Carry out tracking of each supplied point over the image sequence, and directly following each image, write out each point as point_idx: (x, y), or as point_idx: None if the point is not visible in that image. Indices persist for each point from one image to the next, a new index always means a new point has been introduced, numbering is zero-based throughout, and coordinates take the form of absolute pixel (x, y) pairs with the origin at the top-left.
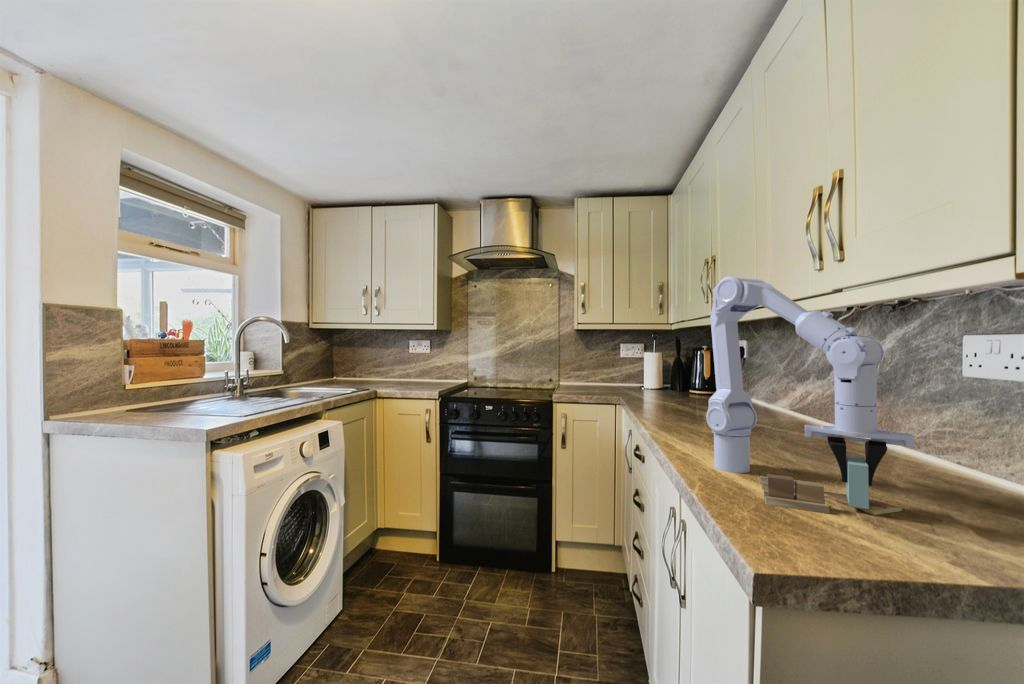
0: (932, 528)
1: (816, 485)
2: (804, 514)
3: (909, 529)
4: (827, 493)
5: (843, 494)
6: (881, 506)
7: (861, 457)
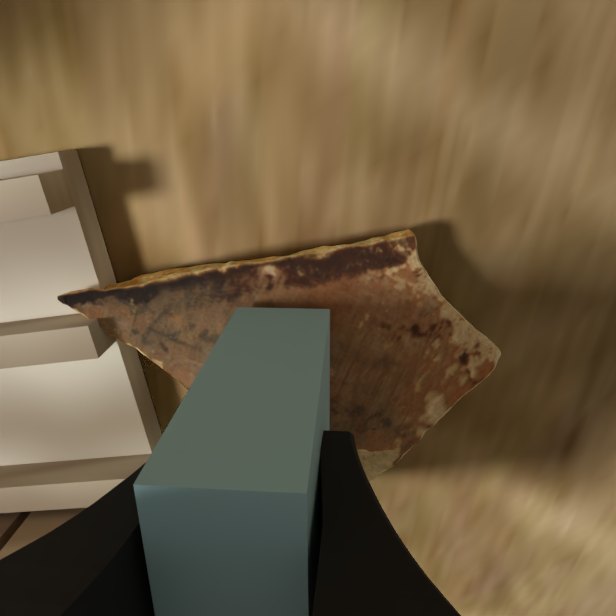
0: (576, 425)
1: None
2: None
3: (471, 486)
4: (146, 325)
5: (226, 276)
6: (395, 429)
7: (283, 530)
